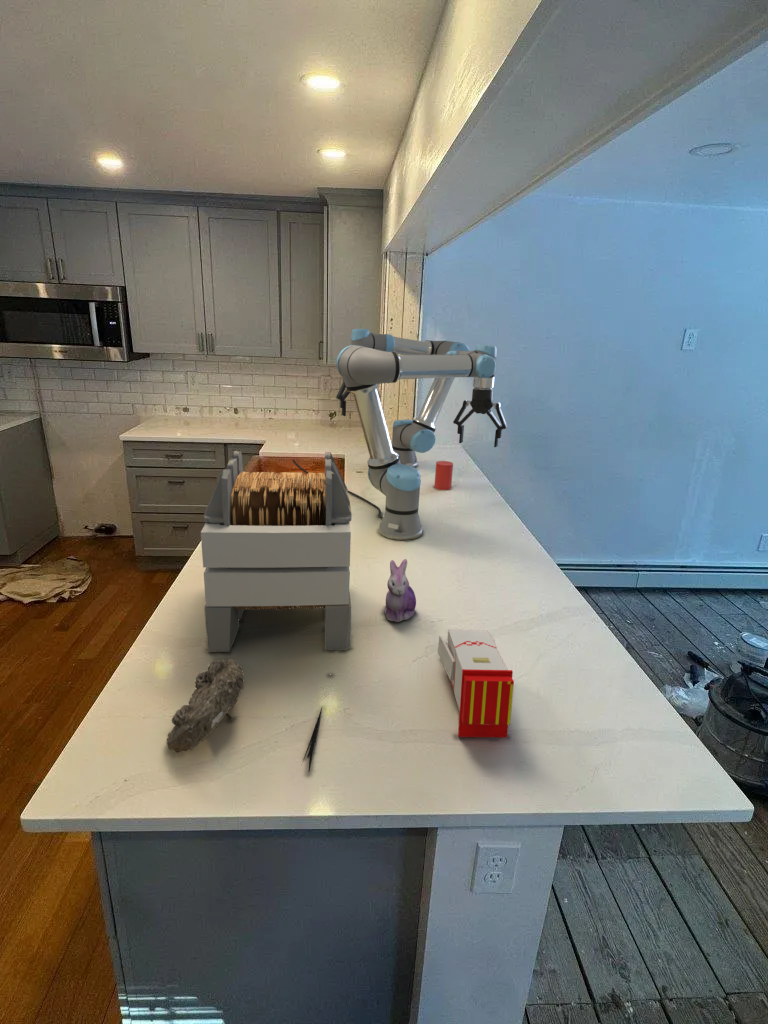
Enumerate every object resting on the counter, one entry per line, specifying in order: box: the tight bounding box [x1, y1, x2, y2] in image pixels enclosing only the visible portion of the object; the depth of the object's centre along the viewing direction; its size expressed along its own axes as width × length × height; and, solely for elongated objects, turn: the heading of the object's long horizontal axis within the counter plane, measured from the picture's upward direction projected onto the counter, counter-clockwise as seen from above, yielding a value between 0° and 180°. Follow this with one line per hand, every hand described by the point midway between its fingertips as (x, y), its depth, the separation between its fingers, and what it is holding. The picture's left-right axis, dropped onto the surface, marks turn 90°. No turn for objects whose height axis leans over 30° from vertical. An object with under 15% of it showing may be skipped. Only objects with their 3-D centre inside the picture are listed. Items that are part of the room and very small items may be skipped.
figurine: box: [384, 558, 417, 623], centre depth 145 cm, size 9×10×15 cm
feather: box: [301, 673, 332, 771], centre depth 108 cm, size 2×28×2 cm
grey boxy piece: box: [200, 450, 353, 653], centre depth 138 cm, size 34×33×41 cm
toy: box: [437, 628, 515, 738], centre depth 117 cm, size 12×13×30 cm
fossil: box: [166, 658, 245, 754], centre depth 106 cm, size 22×10×15 cm
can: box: [433, 460, 454, 491], centre depth 253 cm, size 8×8×11 cm
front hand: (478, 444), depth 217 cm, fingers open, 13 cm apart
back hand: (358, 415), depth 253 cm, fingers open, 13 cm apart
